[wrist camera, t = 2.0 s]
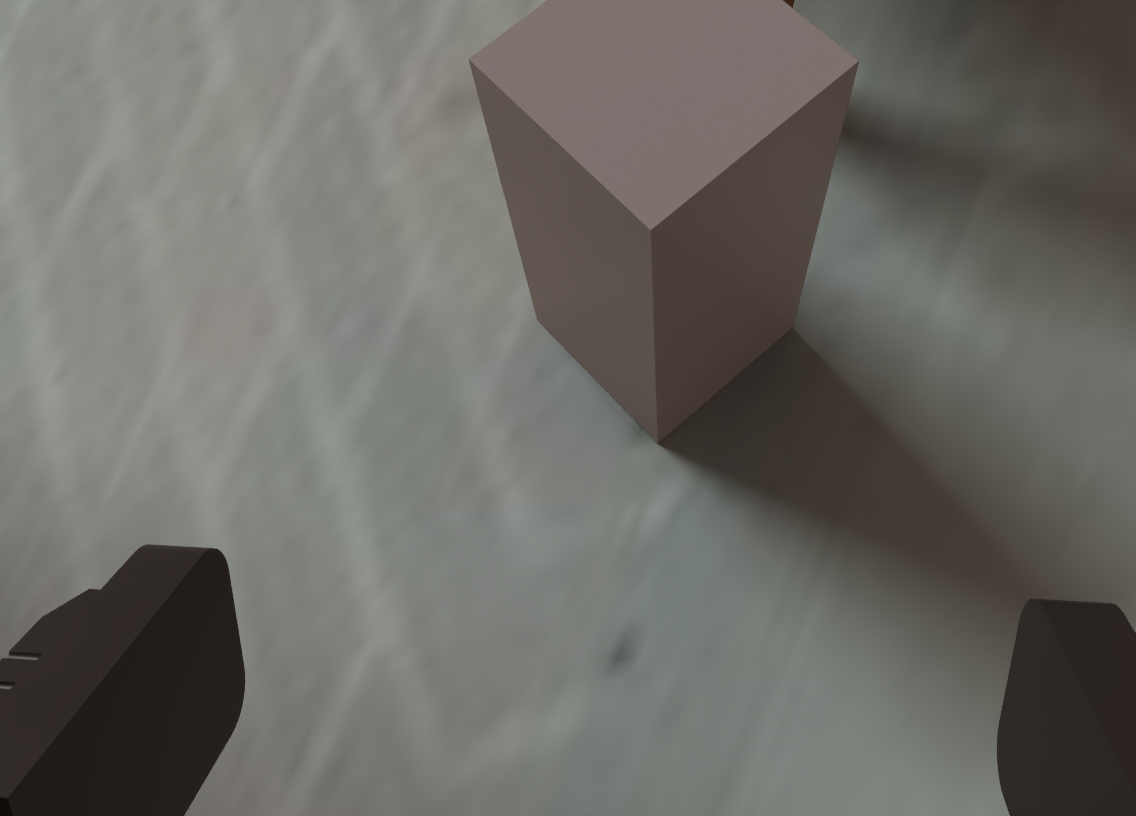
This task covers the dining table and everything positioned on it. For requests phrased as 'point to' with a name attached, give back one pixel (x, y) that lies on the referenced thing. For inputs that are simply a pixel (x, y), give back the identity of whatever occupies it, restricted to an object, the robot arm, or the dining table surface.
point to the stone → (664, 182)
